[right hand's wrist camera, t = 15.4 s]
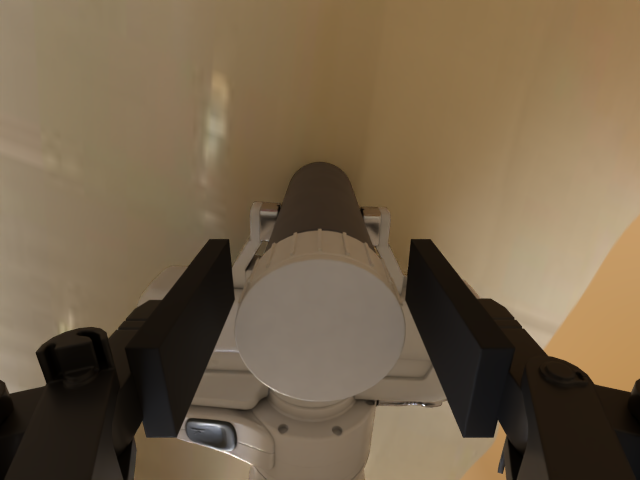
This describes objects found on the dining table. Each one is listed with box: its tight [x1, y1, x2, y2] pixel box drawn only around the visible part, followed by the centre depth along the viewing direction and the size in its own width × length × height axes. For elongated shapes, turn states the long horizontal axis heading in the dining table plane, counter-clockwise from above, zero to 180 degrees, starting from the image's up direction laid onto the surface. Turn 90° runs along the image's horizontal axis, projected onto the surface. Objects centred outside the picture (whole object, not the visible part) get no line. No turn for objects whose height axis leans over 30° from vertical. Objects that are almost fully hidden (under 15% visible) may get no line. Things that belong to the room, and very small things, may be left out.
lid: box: [234, 229, 406, 401], centre depth 11 cm, size 5×5×2 cm
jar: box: [264, 162, 375, 254], centre depth 18 cm, size 5×5×16 cm
